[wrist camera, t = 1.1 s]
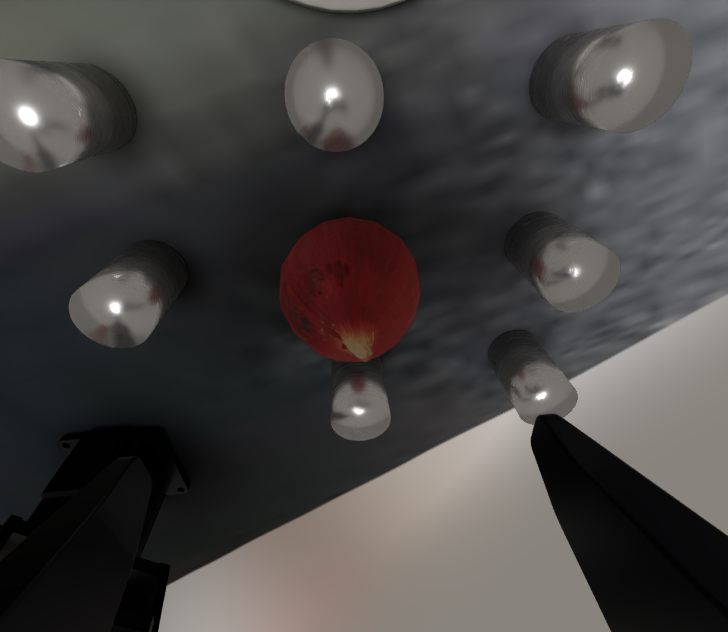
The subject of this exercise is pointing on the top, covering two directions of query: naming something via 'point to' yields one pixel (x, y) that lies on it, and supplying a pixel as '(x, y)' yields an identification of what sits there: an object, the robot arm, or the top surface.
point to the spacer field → (342, 133)
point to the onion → (349, 289)
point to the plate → (347, 5)
